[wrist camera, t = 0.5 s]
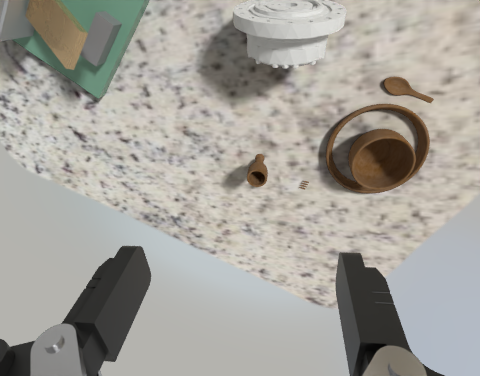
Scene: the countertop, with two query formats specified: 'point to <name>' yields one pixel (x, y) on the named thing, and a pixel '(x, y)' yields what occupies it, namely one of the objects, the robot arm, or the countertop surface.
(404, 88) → the place setting
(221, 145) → the countertop surface
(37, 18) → the wooden block
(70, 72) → the board
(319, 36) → the mechanical component
